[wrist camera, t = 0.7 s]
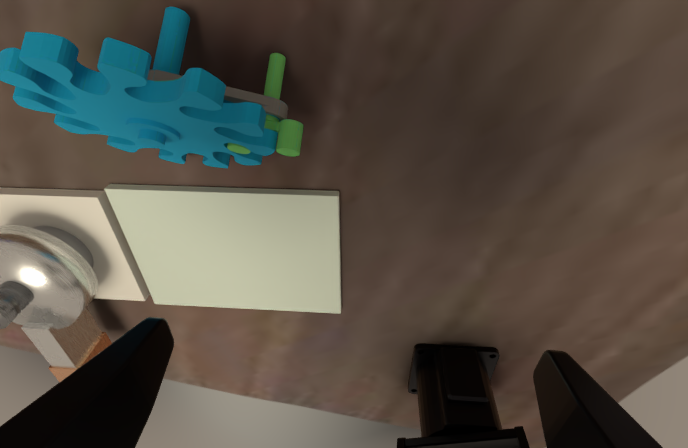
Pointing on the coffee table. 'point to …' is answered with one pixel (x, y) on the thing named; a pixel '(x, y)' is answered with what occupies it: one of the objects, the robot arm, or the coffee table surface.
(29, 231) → the silver round handled piece
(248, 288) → the mat
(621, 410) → the robot arm
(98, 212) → the base
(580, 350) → the coffee table surface
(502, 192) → the coffee table surface
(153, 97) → the gear
